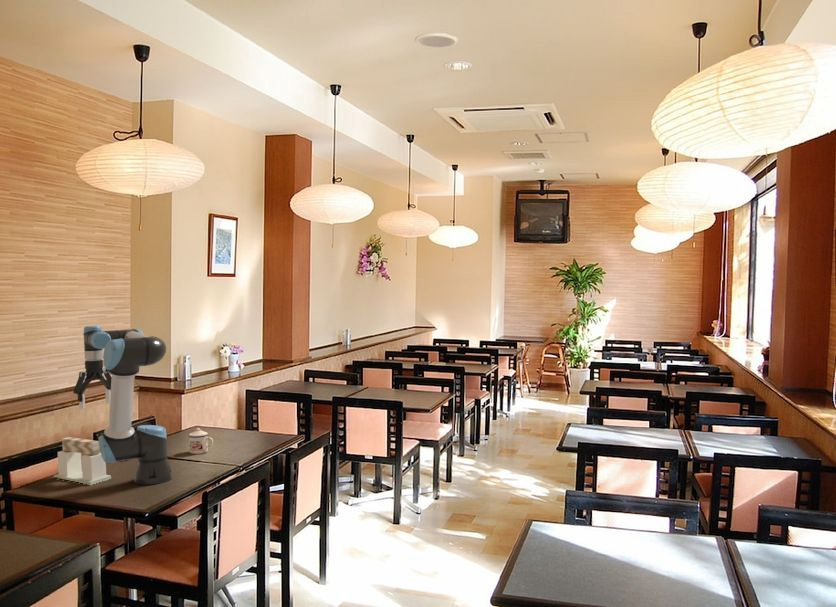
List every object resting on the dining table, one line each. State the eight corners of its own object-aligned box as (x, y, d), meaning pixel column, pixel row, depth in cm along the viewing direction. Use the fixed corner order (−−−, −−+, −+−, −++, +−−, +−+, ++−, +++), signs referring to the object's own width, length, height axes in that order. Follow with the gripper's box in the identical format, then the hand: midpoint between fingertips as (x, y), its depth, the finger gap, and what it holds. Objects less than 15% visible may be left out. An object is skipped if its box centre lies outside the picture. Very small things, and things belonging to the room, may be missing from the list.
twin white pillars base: (111, 479, 300) (110, 452, 300) (90, 485, 291) (89, 458, 291) (74, 472, 311) (73, 447, 311) (53, 478, 302) (52, 452, 302)
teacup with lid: (186, 454, 340) (185, 430, 340) (193, 449, 350) (193, 426, 349) (209, 454, 339) (208, 430, 339) (216, 449, 348) (216, 426, 348)
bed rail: (100, 462, 298) (99, 441, 297) (93, 464, 295) (92, 443, 294) (70, 457, 307) (69, 437, 307) (63, 459, 304) (62, 438, 304)
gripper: (111, 356, 328) (113, 400, 329) (63, 362, 306) (65, 410, 307) (122, 356, 325) (124, 401, 325) (74, 363, 302) (76, 411, 303)
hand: (95, 406), depth 316 cm, fingers open, 13 cm apart
